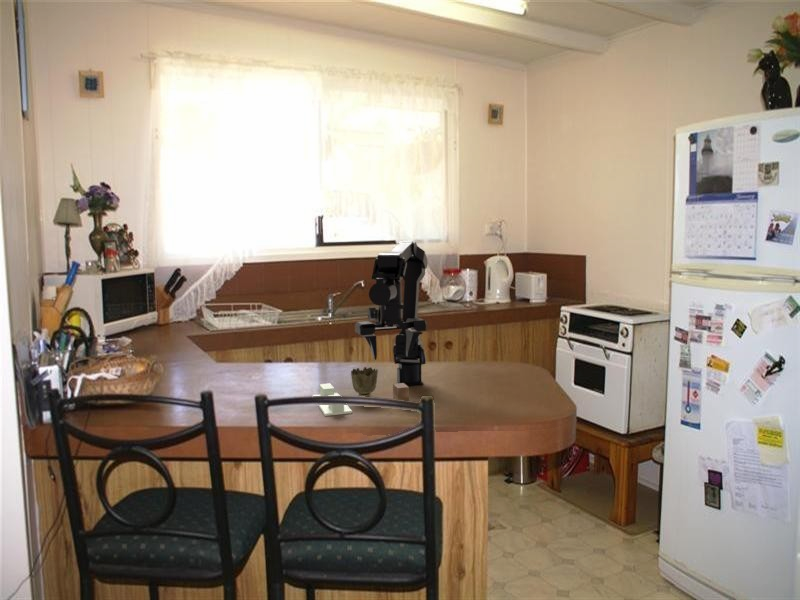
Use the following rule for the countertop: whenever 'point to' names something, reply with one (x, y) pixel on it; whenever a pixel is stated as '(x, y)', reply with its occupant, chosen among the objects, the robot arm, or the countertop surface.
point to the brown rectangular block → (401, 392)
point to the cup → (364, 381)
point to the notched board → (327, 411)
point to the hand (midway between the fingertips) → (391, 358)
